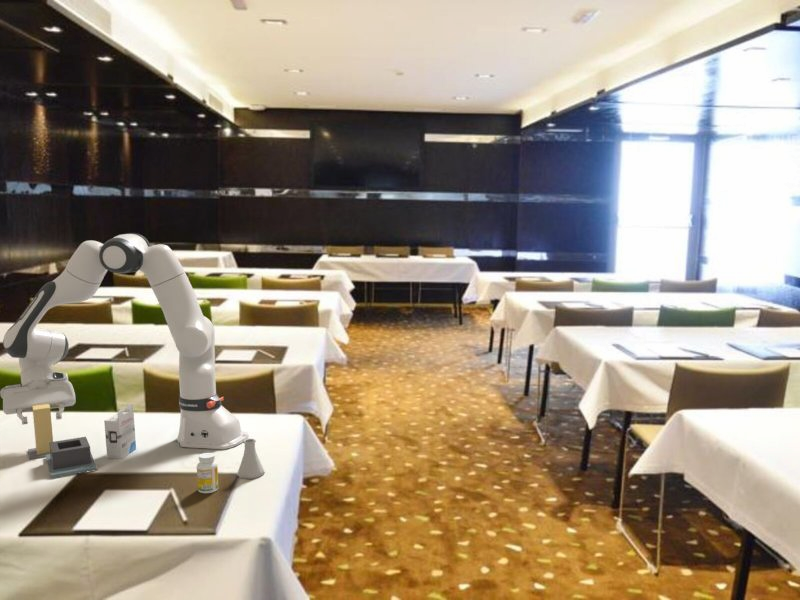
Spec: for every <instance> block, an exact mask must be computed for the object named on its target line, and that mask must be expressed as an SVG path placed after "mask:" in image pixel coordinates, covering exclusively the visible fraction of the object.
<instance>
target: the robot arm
mask: <svg viewBox="0 0 800 600" xmlns="http://www.w3.org/2000/svg"><path fill="white" fill-rule="evenodd" d="M108 271H109V272H111V273H113V274H127V273H137V272H138V271H140V272H142V273H143V274H144V276H145V278H146V279H147V281H148V283H149V285H150V287H151V290H152V291H153V292H152V293H153V294H154V295H155V297H156V300H157V302H158V304H159V307H160V308H161V310H162V313H163V316H164V319H165V321H166V324H167V327H168V329H169V332H170V335H171V337H172V339H173V342H174V344H175V347H176V349H177V351H178V352H179V356H178V357H179V360H178V380H179V382H178V383H179V396H178V405H179V406H178V407H179V410H180V420H179V429H178V433H177V434H178V435H177V442H178V443H179V446H180V447H181V448H195V449H213V450H227V449H230V448H234V447H236V446H239V445H240V444H242V443H244V442H243V441H244V440H246V439H249V433H248V432H245V431H242V429H241V424H240V421H239V418H238V417H237V416H235V415H234V414H232V413H231V412H230V411H229V410H228V409H226V408H225V407H224V405H222V401H224V400H225V399H224V398H225V397H224V396H222V397H220V396H219V394H218V393H217V385H216V353H215V352H216V350H215V348H216V345H215V344H216V343H215V327H214V325H213V323H212V321H211V320H210V319H209V318H208V317H206V316H205V315H204V314H203V311H202V308H201V306H200V304H199V301H198V298H197V295H196V293H195V290H194V288H193V286H192V284H191V282H190V279H189V277H188V275H187V273H186V271H185V269H184V267H183V265H182V263H181V262H180V259H179V258H178V257H177V256H176V254H175V253H174V251H173V250H172V249H171V248H170V246H169V245H166V244H164V243H163V244H161V243H159V244H154V245H151V244H150V242H149V240H148V239H147V238H146V237H145V236H143V235H142V234H140V233H136V232H127V233H123V234H118V235H116V236H114V237H113V238H110V239H108V240H107V241H105V242H104V243H102V242H100V241H97V240H92V239H91V240H85V241H83V242H82V243H80V244H79V246H78V247H77V248H76V250H75V251H74V252H73V254H72V256H71V257H70V259H69V260H68V262H67V264H66V266H65V268H64V269H63V271H62V272H61V273H60V275H58V276H57V277H56V278H55V279H53V280H51V281H48V282H46V283H45V284H44V285H42V287H41V288H40V289H39V291H38V292H37V293H36V294H35V296H34V297H33V298H32V300H31V301H30V303H28V305H27V307H26V308H25V309H24V311H23V312H22V313H21V315H20V316H19V318H18V319H17V320H16V321H15V322H14V323H13V325H12V326H11V327H9V328H8V329H7V331H6V332H5V334H4V336H3V339H2V346H3V348H4V350H5V352H6V353H7V354H8V355H9V356H10V357H11V358H14V359H18V362H19V363H18V366H19V368H20V382H21V383H18V384H12V385H6V386H5V387H2V388H1V389H0V397H1V399H2V409H3V413H4V414H5V415H8V416H9V415H15V414H16V416H17V418H18V419H19V420H20V421H21V425H28V423H29V422H28V416H25V415H23V413H29V412H33V408H32V406H36V405H43V404H49V405H50V410H52V409H57V408H58V411H56V412H55V418H56V419H55V420H58V421H59V420H62V419H63V418H62V417H63V416H62V414H63V412H64V410H65V407H72V406H74V405H75V404H76V401H77V400H76V393H75V389H74V386H73V384H72V383H71V382H70V381H69V375H68V373H67V372H60V371H54V370H52V369H51V367H52V366H55V365H56V364H58V363H60V361H62V360H63V359H64V358H66V356H67V355H68V353H69V349H70V347H69V340H68V338H67V336H66V334H65V333H63V332H61V331H55V330H52V329H43V328H39V327H37V325H38V324H39V322H40V321H41V320H42V319H43V317H44V316H45V314H46V313H47V312H48V311H49V310H50V309H52V308H55V307H57V306H60V305H66V304H78V303H82V302H86V301H87V300H89V299H91V298H92V297H94V296H95V294H96V293H97V292H98V290H99V287H100V286H101V284H102V281H103V280H104V277H105V276H106V274H107V273H108Z"/></svg>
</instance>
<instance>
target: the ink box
mask: <svg viewBox="0 0 800 600" xmlns="http://www.w3.org/2000/svg"><path fill="white" fill-rule="evenodd" d="M125 411H126V412H125ZM104 433H105V435H104V436H105V447H106V458H108V459H116V458H117V459H119V460H122V459H123V457H124V458H125V457H126V455H127V456H128V455H129V453H130V454H131V453H133V452H134V451H136V450H137V443H136V441H137V440H136V429H135V413H134V404H133V403H130V404H129V405H126V406H125V407H123V408H121V409H119V410H118V411H117V413H115V414H114V415H112V416H111V417H109V418H106V419H105V420H104ZM117 459H116V460H117Z"/></svg>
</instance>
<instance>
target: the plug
mask: <svg viewBox="0 0 800 600" xmlns="http://www.w3.org/2000/svg"><path fill="white" fill-rule="evenodd" d="M32 408H33V411H32V419H33V428H34V429H33V430H34V439H35V441H34V442H35V448H36V451H37V455H39V454H45V453H50V446H49V442H54V439H53V436H54V435H53V425H52V412H51V411H52V410H51V409H50V405H49V404H43V405H36V406H32Z"/></svg>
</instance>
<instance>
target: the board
mask: <svg viewBox="0 0 800 600" xmlns="http://www.w3.org/2000/svg"><path fill="white" fill-rule="evenodd" d="M45 459H46V463H47V466H48V467H47V469H48V471H49V477H50V479H56V478H57V479H58V478H62V477H66V476H73V475H74V476H75V475H77V474H76V473H79V472H85V473H88V472H87V471H91V472H94V471H93V470H96V471H98V466H97V464H96V461H95V459H94V457H93V454H92V453H91V463H89V464H84V465H78V466H72V467H66V468H61V469H55V470H53V466H52V462H51V458H50V454H49V455H46V457H45ZM79 474H80V473H79Z"/></svg>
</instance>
